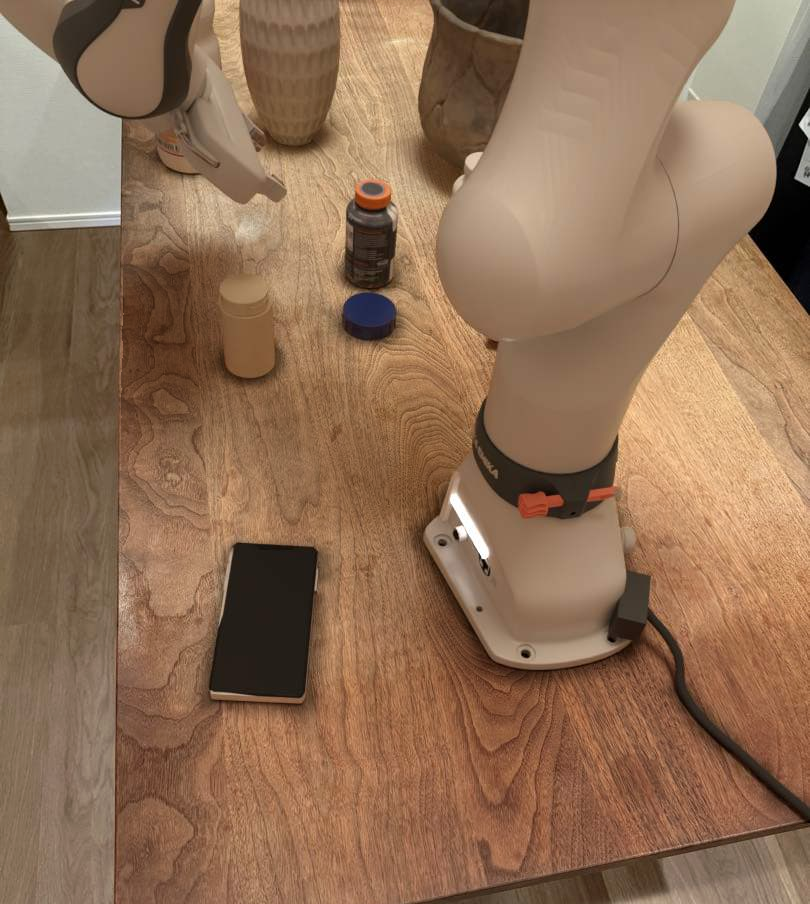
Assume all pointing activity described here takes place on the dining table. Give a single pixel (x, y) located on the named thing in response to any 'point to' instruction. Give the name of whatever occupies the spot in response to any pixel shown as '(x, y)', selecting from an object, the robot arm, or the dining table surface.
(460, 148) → the pot
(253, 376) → the jar
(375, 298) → the lid
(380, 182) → the pill bottle
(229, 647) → the smartphone
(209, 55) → the fruit juice
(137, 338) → the dining table surface
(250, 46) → the vase
